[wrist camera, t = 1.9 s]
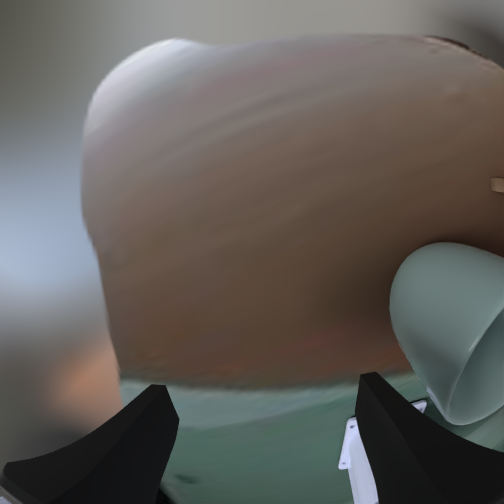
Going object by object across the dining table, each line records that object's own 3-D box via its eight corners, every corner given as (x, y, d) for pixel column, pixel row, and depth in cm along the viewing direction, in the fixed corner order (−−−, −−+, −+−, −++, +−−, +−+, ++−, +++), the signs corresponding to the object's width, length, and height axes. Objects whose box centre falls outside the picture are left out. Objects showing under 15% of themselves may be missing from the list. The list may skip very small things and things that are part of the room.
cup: (380, 227, 16) (485, 283, 6) (468, 231, 15) (569, 273, 6) (365, 337, 18) (418, 444, 8) (449, 327, 17) (518, 402, 8)
